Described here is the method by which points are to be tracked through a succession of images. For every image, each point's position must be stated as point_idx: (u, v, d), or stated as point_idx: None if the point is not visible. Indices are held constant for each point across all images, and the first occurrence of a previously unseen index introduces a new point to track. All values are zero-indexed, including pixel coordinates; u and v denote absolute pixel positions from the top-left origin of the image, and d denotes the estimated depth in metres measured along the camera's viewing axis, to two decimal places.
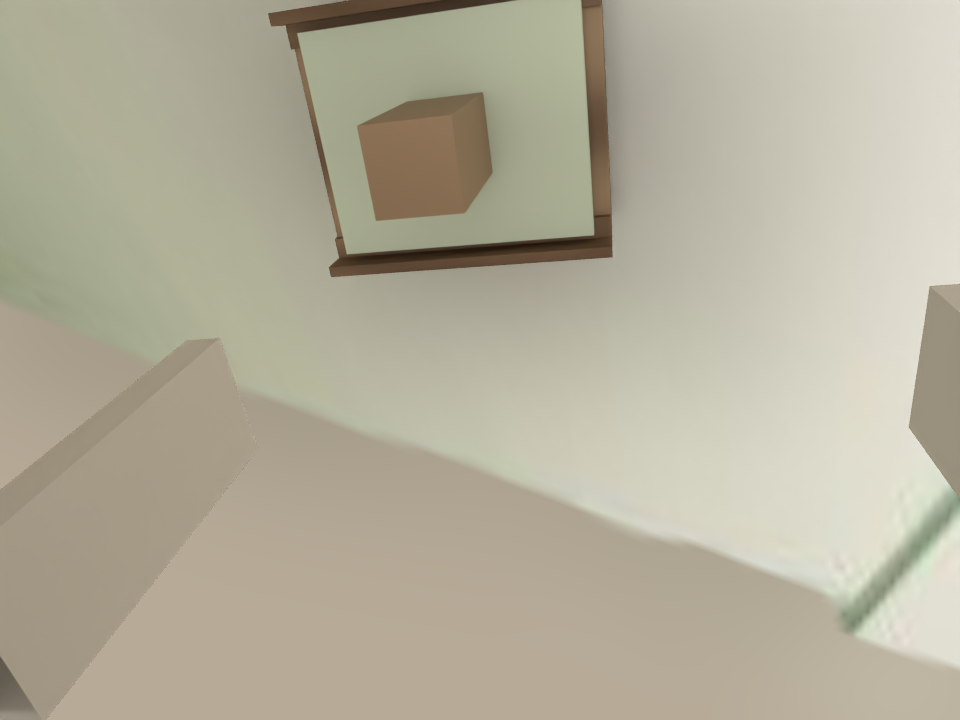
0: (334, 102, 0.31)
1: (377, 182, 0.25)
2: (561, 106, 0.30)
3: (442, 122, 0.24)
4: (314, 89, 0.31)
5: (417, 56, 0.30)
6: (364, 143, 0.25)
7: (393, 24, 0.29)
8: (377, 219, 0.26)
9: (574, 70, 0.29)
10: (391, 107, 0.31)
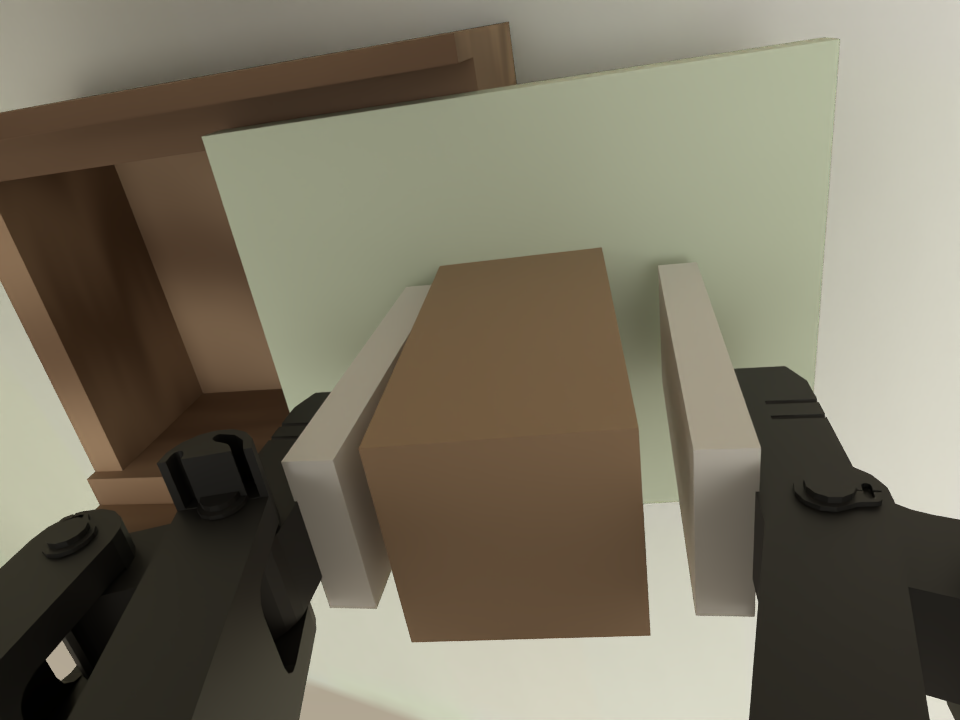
0: (289, 268, 0.15)
1: (416, 569, 0.10)
2: (766, 272, 0.14)
3: (610, 447, 0.08)
4: (245, 245, 0.15)
5: (463, 180, 0.14)
6: (381, 488, 0.09)
7: (411, 116, 0.13)
8: (415, 638, 0.10)
9: (804, 204, 0.14)
10: (407, 277, 0.15)
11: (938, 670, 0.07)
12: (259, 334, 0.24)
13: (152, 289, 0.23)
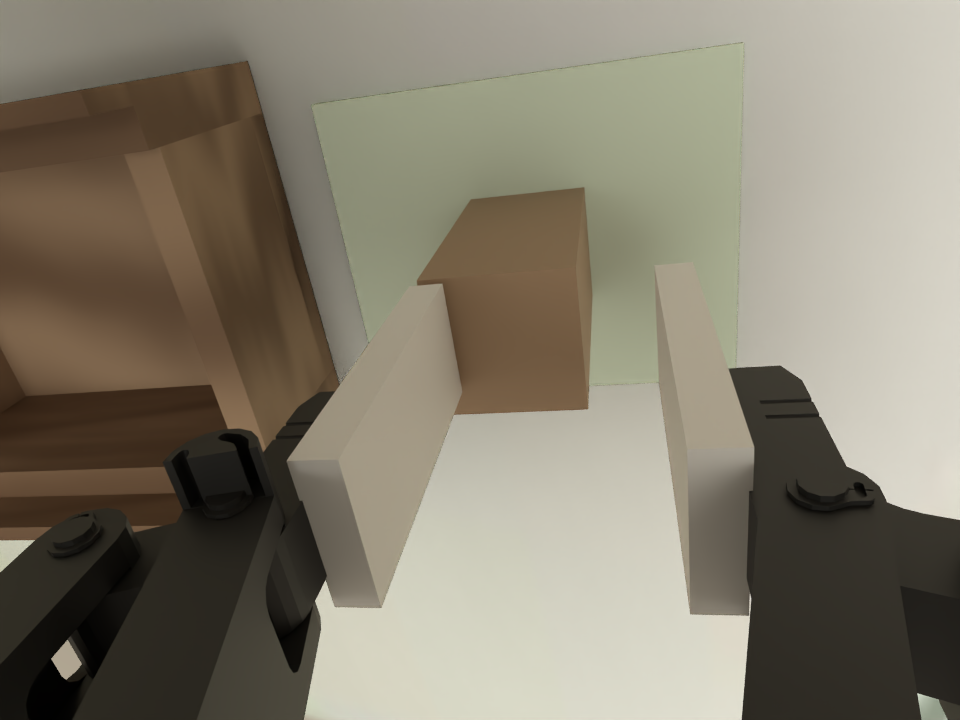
0: (366, 199, 0.22)
1: None
2: (700, 207, 0.20)
3: (559, 279, 0.14)
4: (336, 182, 0.22)
5: (489, 137, 0.20)
6: None
7: (454, 92, 0.20)
8: None
9: (725, 158, 0.19)
10: (448, 207, 0.21)
11: (930, 668, 0.07)
12: (67, 342, 0.26)
13: None
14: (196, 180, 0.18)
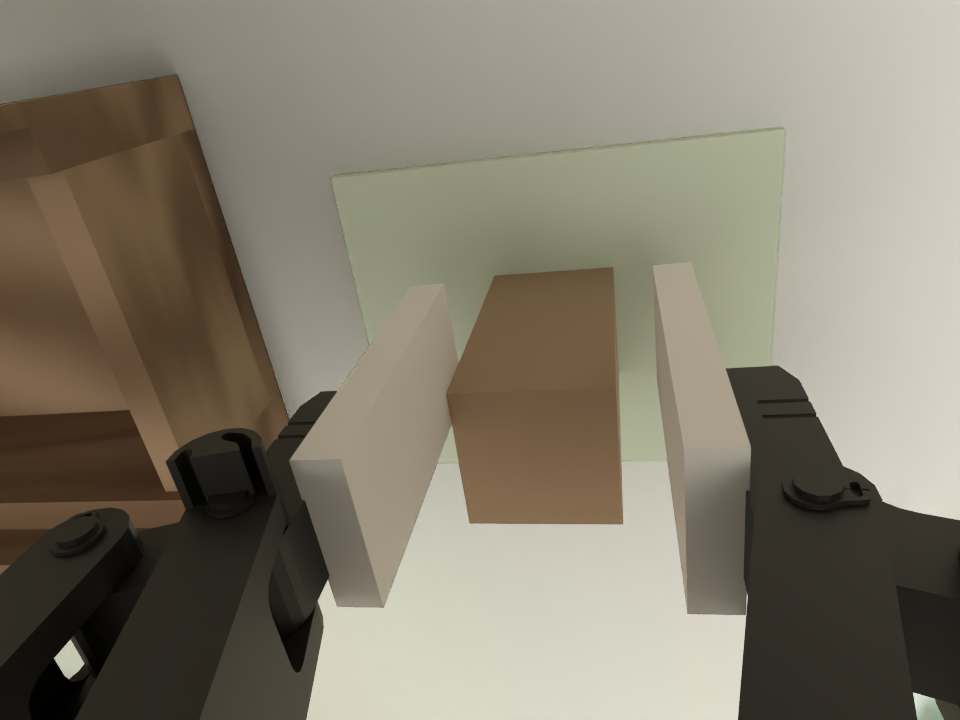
0: (385, 272, 0.21)
1: (476, 473, 0.15)
2: (734, 290, 0.19)
3: (598, 398, 0.14)
4: (355, 254, 0.21)
5: (515, 215, 0.19)
6: (458, 419, 0.15)
7: (480, 170, 0.19)
8: (472, 521, 0.16)
9: (762, 242, 0.19)
10: (470, 282, 0.21)
11: (925, 668, 0.07)
12: (2, 363, 0.25)
13: None
14: (110, 203, 0.17)
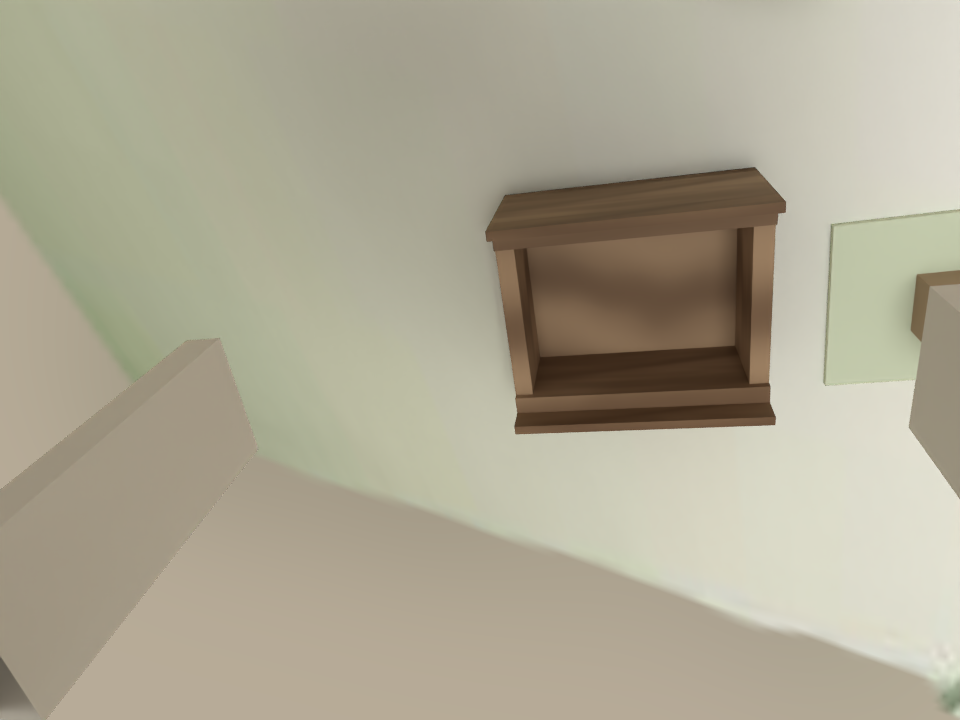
0: (851, 275, 0.39)
1: None
2: None
3: None
4: (836, 266, 0.39)
5: (936, 242, 0.37)
6: None
7: (922, 220, 0.37)
8: None
9: None
10: (901, 278, 0.39)
11: None
12: (584, 323, 0.43)
13: (531, 297, 0.42)
14: None
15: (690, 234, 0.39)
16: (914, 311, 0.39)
